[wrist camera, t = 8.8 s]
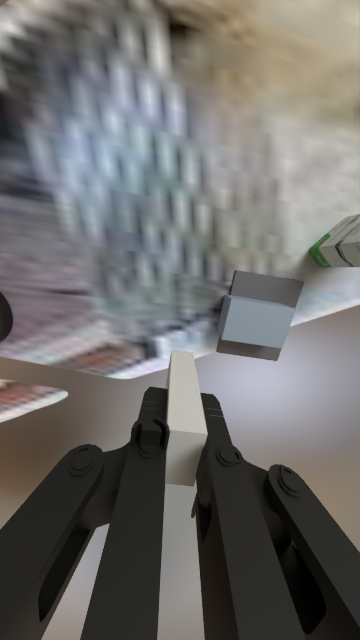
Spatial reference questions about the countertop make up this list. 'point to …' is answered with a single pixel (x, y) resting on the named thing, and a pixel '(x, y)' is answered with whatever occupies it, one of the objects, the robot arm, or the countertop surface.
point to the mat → (266, 291)
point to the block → (254, 321)
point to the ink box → (340, 245)
